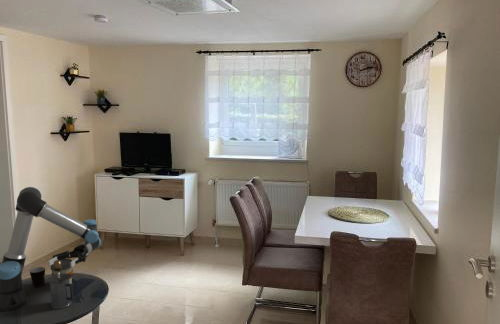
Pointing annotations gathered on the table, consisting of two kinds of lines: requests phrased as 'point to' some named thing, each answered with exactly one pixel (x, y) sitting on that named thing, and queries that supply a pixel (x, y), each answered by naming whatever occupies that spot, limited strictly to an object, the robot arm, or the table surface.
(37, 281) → the coffee mug
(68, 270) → the reusable coffee cup
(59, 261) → the plunger
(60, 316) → the table surface
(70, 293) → the press carafe
